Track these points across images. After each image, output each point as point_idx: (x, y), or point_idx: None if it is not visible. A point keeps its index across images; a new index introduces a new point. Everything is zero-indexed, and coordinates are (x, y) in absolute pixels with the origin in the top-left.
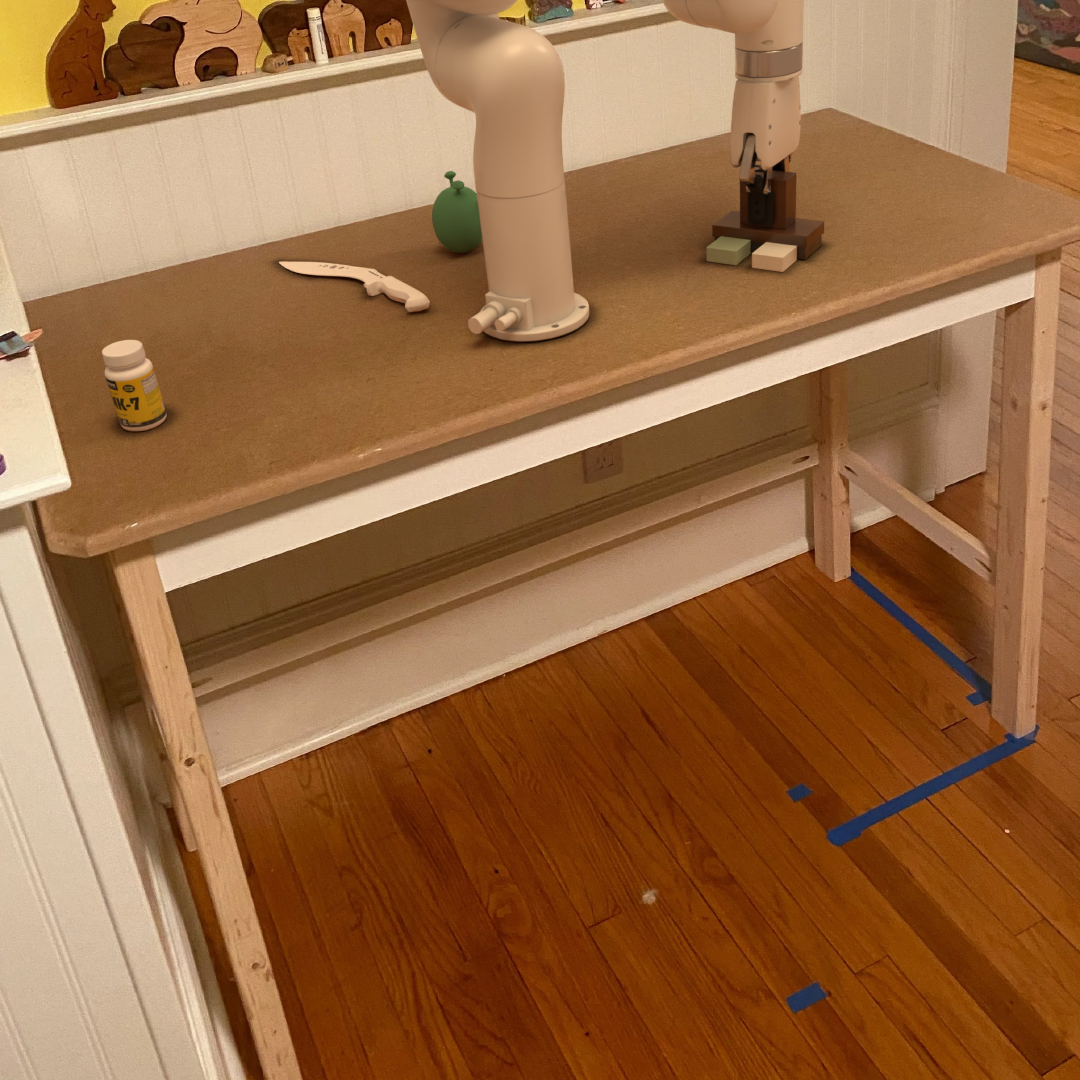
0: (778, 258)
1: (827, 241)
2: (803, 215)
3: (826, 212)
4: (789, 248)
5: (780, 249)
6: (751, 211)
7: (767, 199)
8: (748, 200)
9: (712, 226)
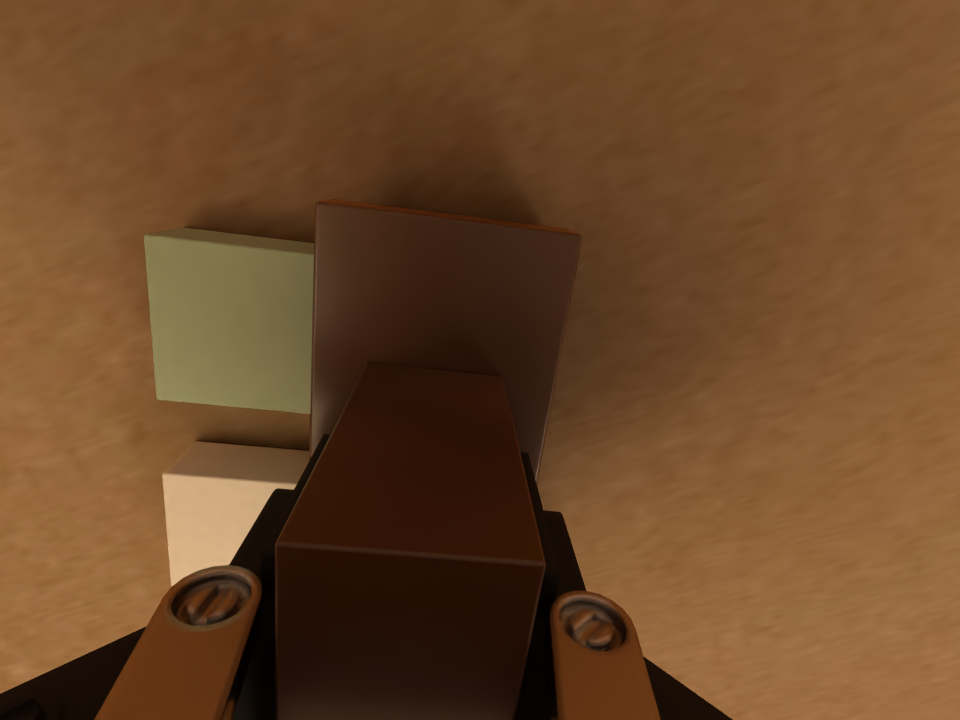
0: (172, 576)
1: None
2: (814, 450)
3: (847, 518)
4: None
5: None
6: (263, 507)
7: None
8: (288, 508)
9: (315, 205)
